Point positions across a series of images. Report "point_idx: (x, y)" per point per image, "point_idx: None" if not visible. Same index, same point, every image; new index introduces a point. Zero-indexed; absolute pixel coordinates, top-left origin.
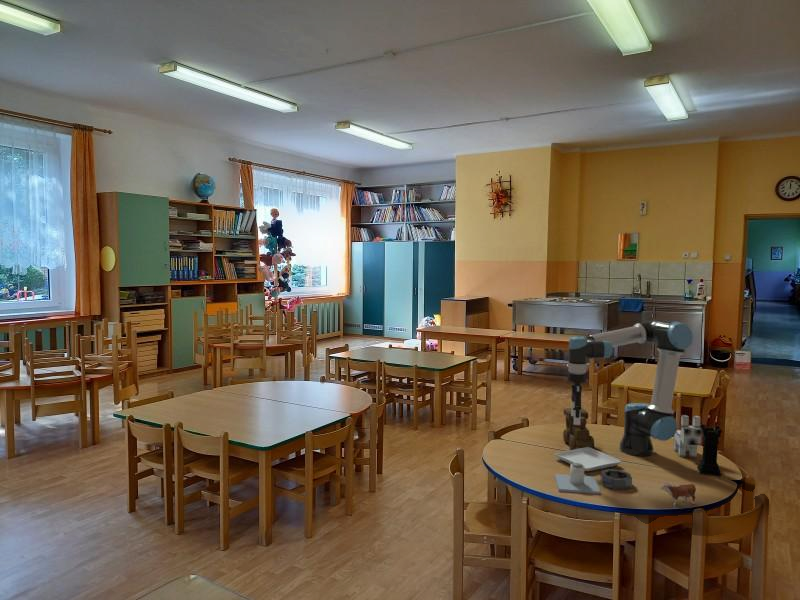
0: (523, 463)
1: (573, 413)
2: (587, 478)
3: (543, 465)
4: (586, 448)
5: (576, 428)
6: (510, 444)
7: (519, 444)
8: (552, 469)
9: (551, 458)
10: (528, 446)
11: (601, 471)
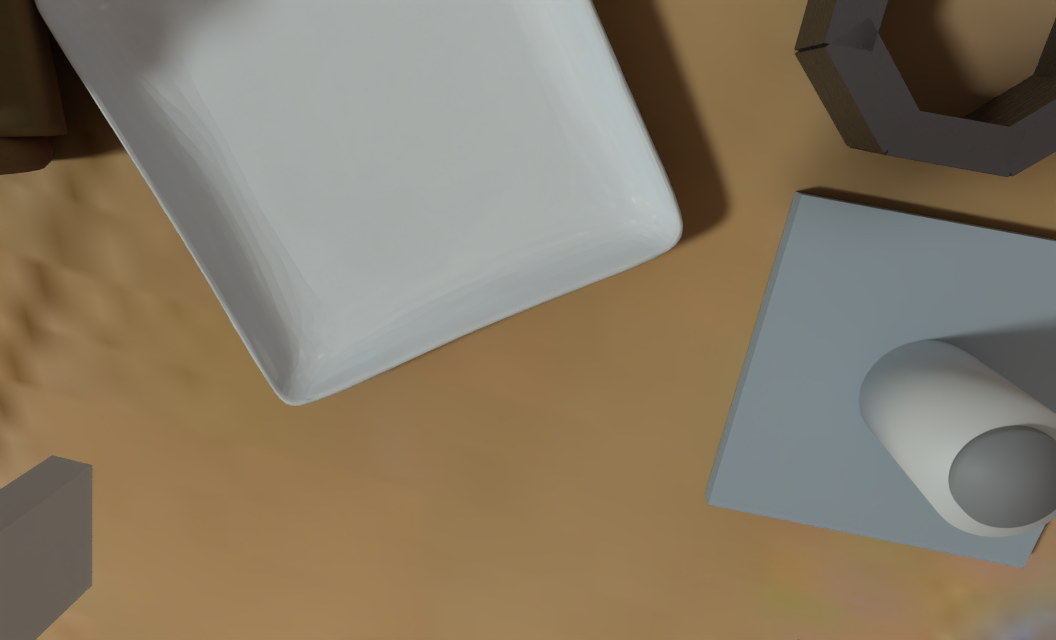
0: (431, 628)
1: (39, 592)
2: (840, 272)
3: (465, 507)
4: (65, 25)
5: None
6: None
7: None
8: (553, 467)
9: None
10: None
11: (885, 143)
